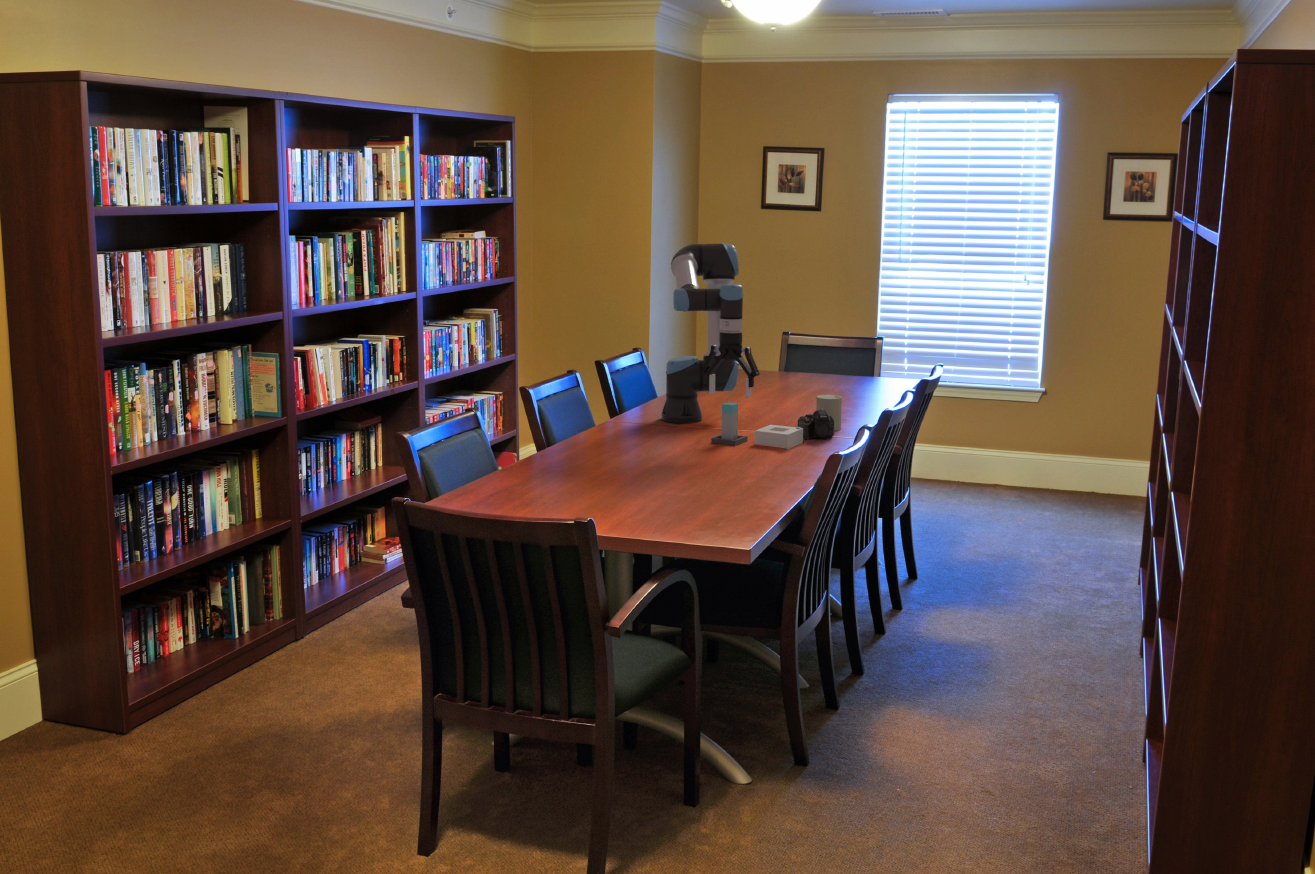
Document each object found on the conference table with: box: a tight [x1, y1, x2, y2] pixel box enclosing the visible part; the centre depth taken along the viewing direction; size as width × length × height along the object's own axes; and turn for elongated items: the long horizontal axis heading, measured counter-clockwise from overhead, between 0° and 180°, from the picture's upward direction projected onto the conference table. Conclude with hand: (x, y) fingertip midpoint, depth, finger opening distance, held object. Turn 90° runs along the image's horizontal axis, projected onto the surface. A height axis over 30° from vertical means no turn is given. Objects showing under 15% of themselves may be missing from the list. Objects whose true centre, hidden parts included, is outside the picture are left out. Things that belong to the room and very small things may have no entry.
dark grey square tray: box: [710, 433, 749, 447], centre depth 371 cm, size 9×9×2 cm
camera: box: [797, 409, 835, 441], centre depth 378 cm, size 13×10×10 cm
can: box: [815, 394, 843, 432], centre depth 394 cm, size 9×9×12 cm
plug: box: [720, 402, 739, 440], centre depth 370 cm, size 4×4×13 cm
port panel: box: [754, 424, 804, 450], centre depth 369 cm, size 12×12×5 cm
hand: (730, 395), depth 367 cm, fingers open, 13 cm apart
